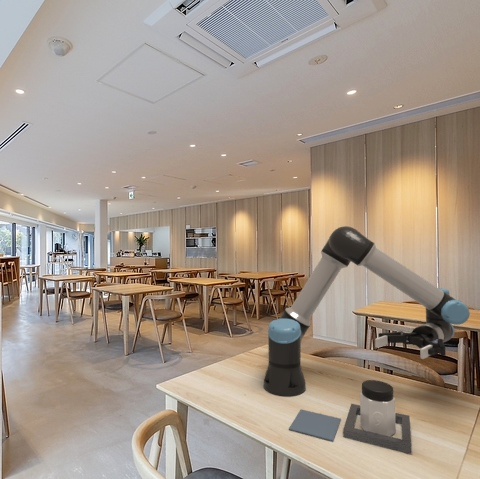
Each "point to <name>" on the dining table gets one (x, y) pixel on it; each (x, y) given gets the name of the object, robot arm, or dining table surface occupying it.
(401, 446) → the frame
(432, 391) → the dining table surface
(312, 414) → the mat
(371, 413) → the jar
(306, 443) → the dining table surface
